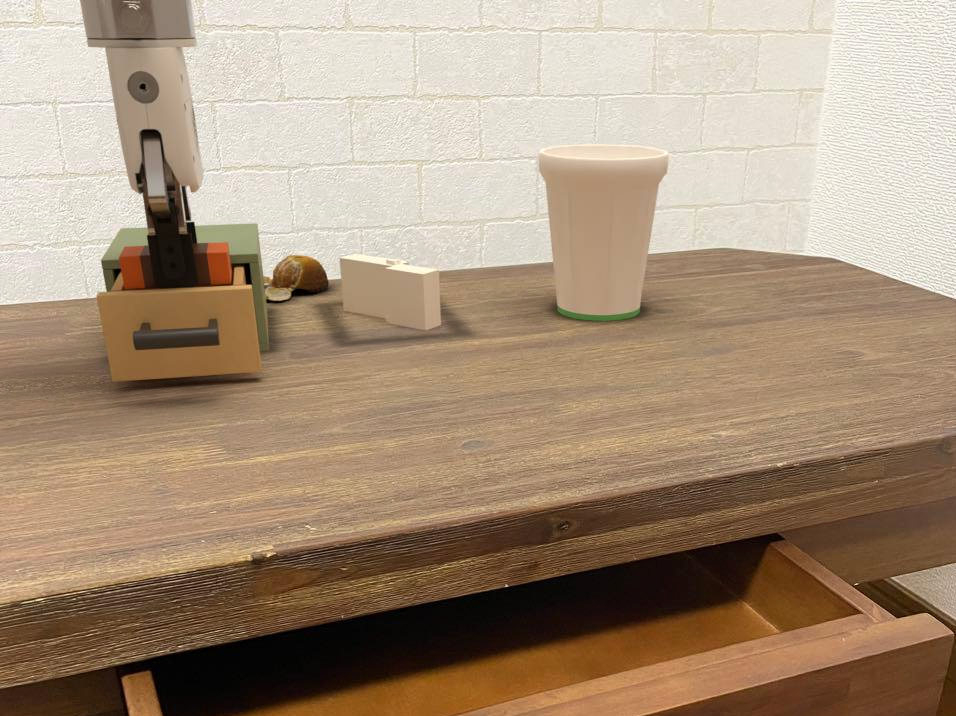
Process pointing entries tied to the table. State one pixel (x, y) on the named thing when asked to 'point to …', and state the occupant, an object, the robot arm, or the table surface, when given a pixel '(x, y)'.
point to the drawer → (180, 330)
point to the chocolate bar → (208, 260)
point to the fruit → (295, 277)
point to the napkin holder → (391, 290)
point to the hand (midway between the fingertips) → (178, 277)
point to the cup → (601, 225)
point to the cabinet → (237, 235)
